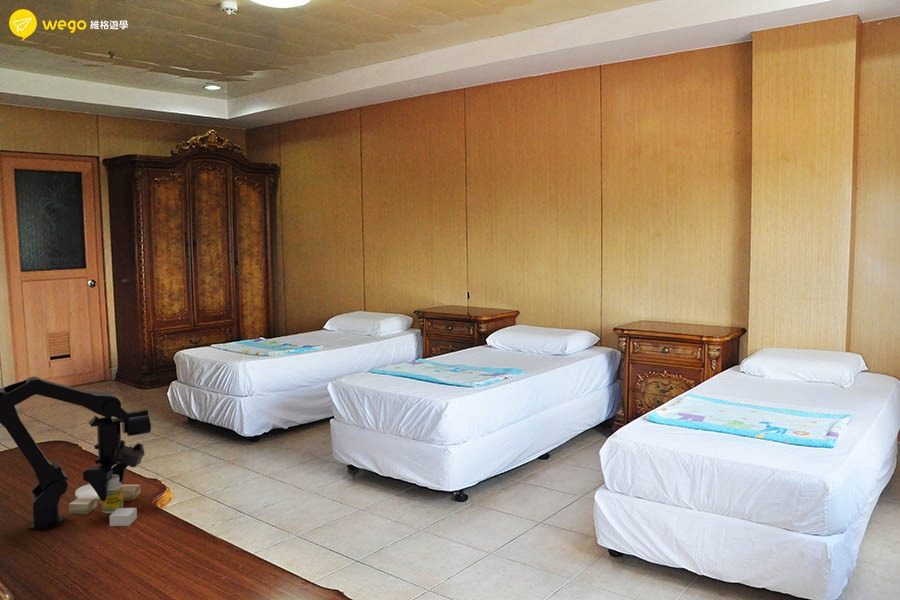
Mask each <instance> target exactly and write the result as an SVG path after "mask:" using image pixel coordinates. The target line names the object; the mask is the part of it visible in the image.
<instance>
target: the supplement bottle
mask: <svg viewBox="0 0 900 600" xmlns="http://www.w3.org/2000/svg"><path fill="white" fill-rule="evenodd" d="M112 476H113V478H112V479H111V480H110V481H109V482H108V488H107V497H106V500H105V501H101V511H102V512H103V513H104V514H112V513H113V512H114V511H115V510H116V509H117V508H124V500H123V488H122V485H123V483H121V482H119V475H117V474H112Z"/></svg>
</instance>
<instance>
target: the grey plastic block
mask: <svg viewBox="0 0 900 600" xmlns="http://www.w3.org/2000/svg"><path fill="white" fill-rule="evenodd" d="M137 509H138V508H137V507H123V508H117V509H116V510H115V511H114V512H113V513H110V515H109V527H127V526H128V527H130V526H131V525H132V524H133V522H135V521H136V519H138V511H137Z"/></svg>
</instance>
